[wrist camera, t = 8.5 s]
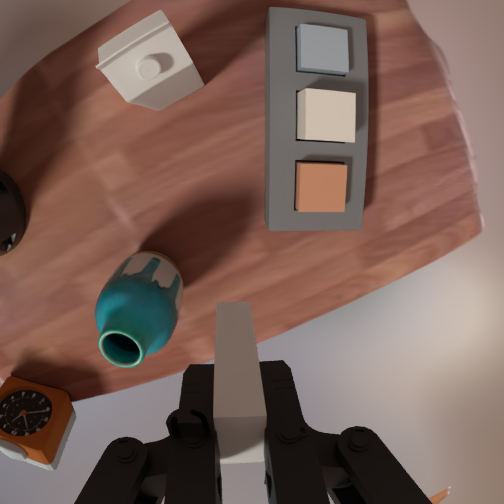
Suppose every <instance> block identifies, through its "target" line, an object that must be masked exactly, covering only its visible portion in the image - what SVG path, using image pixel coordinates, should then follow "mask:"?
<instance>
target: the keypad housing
mask: <svg viewBox="0 0 504 504" xmlns="http://www.w3.org/2000/svg"><path fill="white" fill-rule="evenodd" d="M300 24H308V25H317V26H324V27H331V28H338V29H344V30H347V34H348V59H349V73H346V74H344V75H342V76H333V75H324V74H314V73H302V72H296V48H295V31H296V29H297V28H298V27H299V25H300ZM305 88H309V89H321V90H331V91H341V92H349V93H356V113H355V143H353V142H340V141H333V142H323V141H302V140H296V93H298V92H300V91H302V90H304V89H305ZM367 146H368V52H367V33H366V19H361V18H356V17H351V16H345V15H340V14H333V13H327V12H320V11H312V10H303V9H293V8H281V7H269V9H268V12H267V15H266V18H265V223H266V225H267V228H268V230H269V231H302V230H361V228H362V218H363V207H364V195H365V182H366V166H367ZM295 160H316V161H334V162H338V163H341V164H344V165H347V182H346V197H345V211H344V212H299V211H298V210H297V209H296V208H295V207H294V187H295Z"/></svg>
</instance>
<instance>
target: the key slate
mask: <svg viewBox="0 0 504 504" xmlns="http://www.w3.org/2000/svg"><path fill="white" fill-rule="evenodd" d="M295 48H296V72H302V73H314V74H324V75H333V76H342V75H344V74H346V73H349V59H348V34H347V30H344V29H338V28H331V27H324V26H317V25H308V24H300V25H299V27H298V28H297V29H296V31H295Z"/></svg>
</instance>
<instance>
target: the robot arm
mask: <svg viewBox="0 0 504 504" xmlns="http://www.w3.org/2000/svg"><path fill="white" fill-rule="evenodd" d="M24 228H25V208H24V203H23V200H22V196H21V194H20V192H19V189H18V187H17V186H16V184H15V183H14V181H13V180H12V179H11V178H10V177H9V176H8V175H7V174H5V173H3V172H1V171H0V256H2V255H5V254H7V253H8V252H10V251H11V250H12V249H14V248H15V247H16V246H17V245H18V244H19V242H20V240H21V238H22V236H23V233H24ZM166 425H167V428H168V431H169V434H170V435H169V436H168V437H166V438H164V439H162V440H159V441H155V442H150V443H145V444H143V443H142V442H141V441H139V440H137V439H135V438H132V437H123V438H118V439H116V440H114V441H112V442H111V443H110V444H109V445H108V446H107V448H106V450H105V451H104V453H103V455H102V456H101V459H100V460H99V461H98V463H97V465H96V467H95V468H94V470H93V472H92V473H91V475H90V477H89V479H88V480H87V482H86V484H85V486H84V487H83V489H82V491H81V493H80V494H79V496H78V498H77V500H76V501H75V503H74V504H161V503H162V500H163V498H164V496H165V501H164V504H222V477H221V471H220V463H248V462H264V460H265V468H266V470H265V484H266V486H267V494H268V502H269V504H330V502H329V498H328V494H327V492H328V493H329V495H330V497H331V498H332V500H333V502H334V503H335V504H432V503H431V501H430V500H429V499H428V498H427V497H426V495H425V494H424V493H423V492H422V490H421V489H420V488H419V487H418V485H417V484H416V483H415V482H414V480H413V479H412V478H411V477H410V476H409V474H408V473H407V472H406V470H405V469H404V468H403V467H402V465H401V464H400V463H399V462H398V461H397V459H396V458H395V457H394V456H393V454H392V453H391V452H390V450H389V449H388V448H387V447H386V445H385V444H384V443H383V442H382V441H381V439H380V438H379V437H378V435H377V434H376V433H374V432H373V431H372V430H371V429H368V428H366V427H360V426H355V427H350V428H347V429H346V430H344V431H343V432H342V433H341V434H340V435H339V434H329V433H323V432H318V431H316V430H314V429H312V428H311V427H309V426H308V425H307V423H306V422H305V420H304V418H303V415H302V412H301V407H300V403H299V400H298V395H297V391H296V389H295V384H294V381H293V376H292V372H291V368H290V367H289V366H288V365H287V364H286V363H285V362H284V361H283V360H279V361H263V362H259V359H258V352H257V345H256V338H255V331H254V324H253V317H252V310H251V302H250V301H247V302H217V309H216V334H215V363H214V364H190V365H189V367H188V368H187V369H186V371H185V372H184V373H183V381H182V389H181V397H180V403H179V409H177V410H175V411H173V412H172V413H171V414H170V415H169V416H168V418H167V421H166Z"/></svg>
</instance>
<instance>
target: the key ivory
mask: <svg viewBox="0 0 504 504" xmlns="http://www.w3.org/2000/svg"><path fill="white" fill-rule="evenodd" d="M355 113H356V93H349V92H341V91H331V90H321V89H309V88H305V89H304V90H302V91H300V92H298V93H296V139H305V140H324V141H340V142H353V143H355Z"/></svg>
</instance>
